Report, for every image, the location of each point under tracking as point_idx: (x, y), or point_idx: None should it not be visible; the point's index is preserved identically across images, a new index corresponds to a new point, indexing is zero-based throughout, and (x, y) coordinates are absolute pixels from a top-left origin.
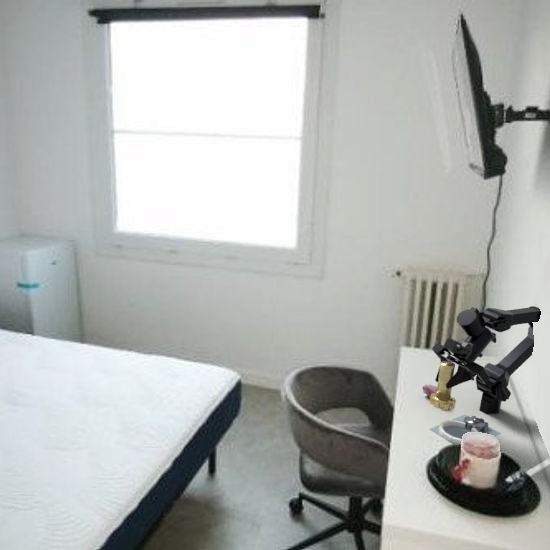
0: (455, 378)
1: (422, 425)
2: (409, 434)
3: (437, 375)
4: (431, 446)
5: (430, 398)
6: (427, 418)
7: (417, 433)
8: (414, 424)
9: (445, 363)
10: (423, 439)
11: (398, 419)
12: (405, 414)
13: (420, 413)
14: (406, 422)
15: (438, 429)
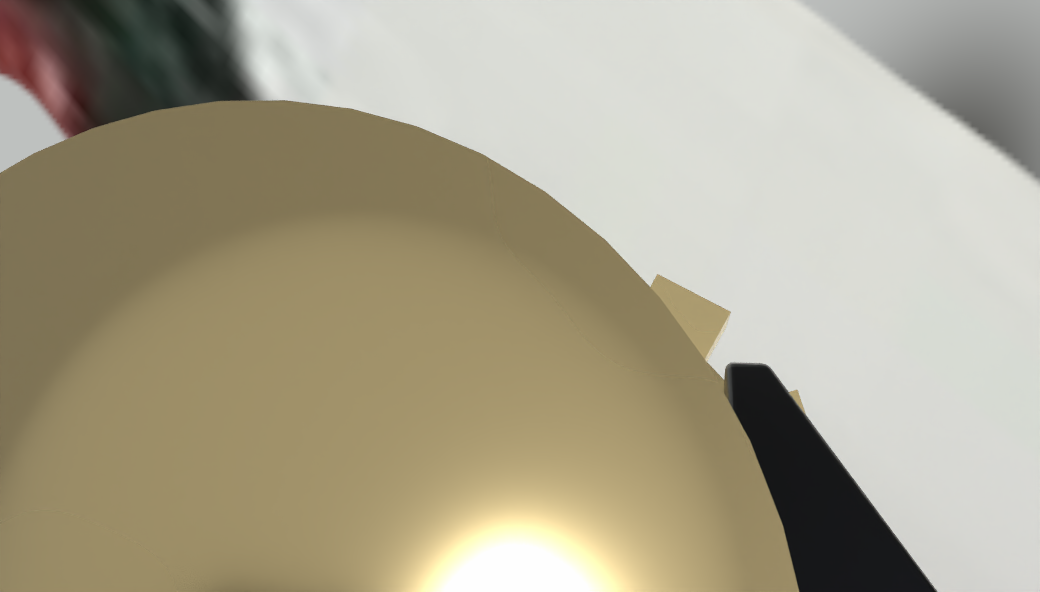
0: None
1: (677, 264)
2: (590, 16)
3: (801, 451)
4: (346, 88)
5: (698, 298)
6: None
7: (572, 106)
8: (729, 192)
9: (324, 549)
10: (464, 93)
11: (891, 85)
12: (964, 238)
13: (918, 438)
14: (800, 133)
15: None
